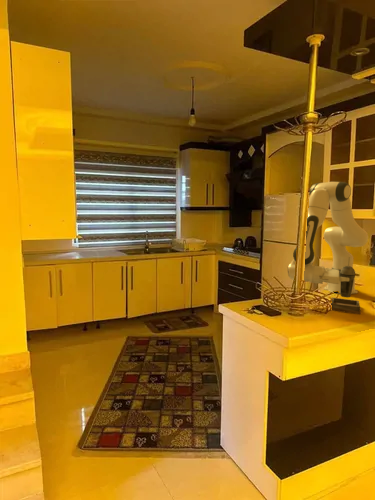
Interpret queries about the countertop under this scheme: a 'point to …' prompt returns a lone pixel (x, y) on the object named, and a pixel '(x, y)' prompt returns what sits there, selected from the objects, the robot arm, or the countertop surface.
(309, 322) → the countertop surface
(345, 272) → the beverage cup
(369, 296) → the countertop surface
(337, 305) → the dock plate
